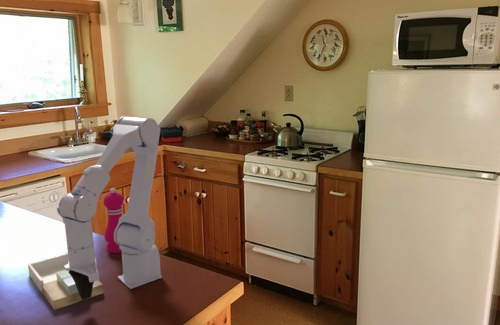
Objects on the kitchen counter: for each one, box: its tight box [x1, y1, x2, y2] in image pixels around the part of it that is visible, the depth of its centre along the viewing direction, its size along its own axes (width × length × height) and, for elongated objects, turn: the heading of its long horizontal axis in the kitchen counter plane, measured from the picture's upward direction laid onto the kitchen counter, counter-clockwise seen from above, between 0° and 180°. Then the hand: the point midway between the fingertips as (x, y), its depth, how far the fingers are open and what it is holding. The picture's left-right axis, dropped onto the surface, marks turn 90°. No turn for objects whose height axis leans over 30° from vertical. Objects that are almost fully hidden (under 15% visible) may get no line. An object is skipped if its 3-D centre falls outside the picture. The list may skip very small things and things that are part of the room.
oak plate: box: [41, 279, 104, 311], centre depth 112 cm, size 12×10×2 cm
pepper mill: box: [103, 187, 125, 254], centre depth 136 cm, size 7×7×20 cm
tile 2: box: [62, 277, 78, 295], centre depth 109 cm, size 4×4×2 cm
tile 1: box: [56, 270, 71, 287], centre depth 113 cm, size 4×4×2 cm
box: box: [27, 252, 68, 293], centre depth 120 cm, size 12×12×4 cm
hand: (85, 297), depth 104 cm, fingers closed
